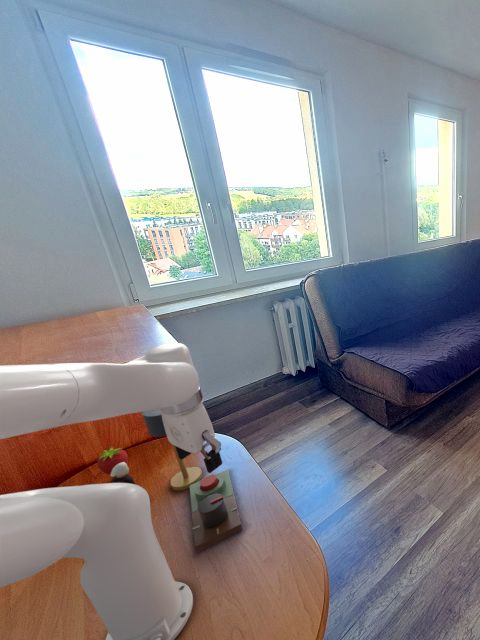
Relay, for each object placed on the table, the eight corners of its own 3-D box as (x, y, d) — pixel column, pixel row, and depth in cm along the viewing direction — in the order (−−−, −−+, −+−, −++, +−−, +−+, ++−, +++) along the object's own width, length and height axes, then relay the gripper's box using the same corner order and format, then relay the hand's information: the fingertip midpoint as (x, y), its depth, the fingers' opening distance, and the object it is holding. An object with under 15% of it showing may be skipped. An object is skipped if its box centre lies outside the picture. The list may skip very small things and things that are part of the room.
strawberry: (126, 463, 96) (114, 435, 92) (138, 473, 92) (126, 444, 89) (99, 477, 91) (86, 448, 87) (111, 488, 88) (98, 459, 84)
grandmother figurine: (155, 498, 85) (140, 459, 80) (142, 511, 81) (125, 472, 77) (128, 495, 86) (111, 457, 81) (113, 508, 82) (95, 469, 78)
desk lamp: (205, 482, 90) (182, 408, 81) (169, 497, 85) (140, 420, 77) (203, 464, 96) (181, 393, 87) (168, 477, 91) (142, 404, 83)
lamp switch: (218, 486, 85) (217, 481, 85) (202, 493, 83) (200, 488, 83) (217, 477, 88) (215, 472, 87) (201, 484, 86) (199, 479, 85)
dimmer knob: (204, 532, 74) (198, 515, 72) (202, 516, 78) (196, 499, 76) (229, 520, 77) (224, 504, 75) (226, 505, 81) (221, 489, 79)
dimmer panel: (243, 529, 77) (241, 523, 76) (196, 553, 72) (193, 547, 71) (235, 499, 85) (234, 493, 84) (192, 519, 79) (190, 513, 79)
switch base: (234, 497, 85) (232, 488, 84) (193, 516, 80) (190, 507, 79) (228, 472, 93) (226, 464, 92) (190, 488, 88) (187, 480, 87)
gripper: (137, 399, 71) (160, 461, 77) (189, 421, 64) (210, 486, 71) (173, 382, 77) (192, 440, 83) (225, 400, 71) (241, 461, 77)
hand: (201, 461), depth 77 cm, fingers open, 9 cm apart
